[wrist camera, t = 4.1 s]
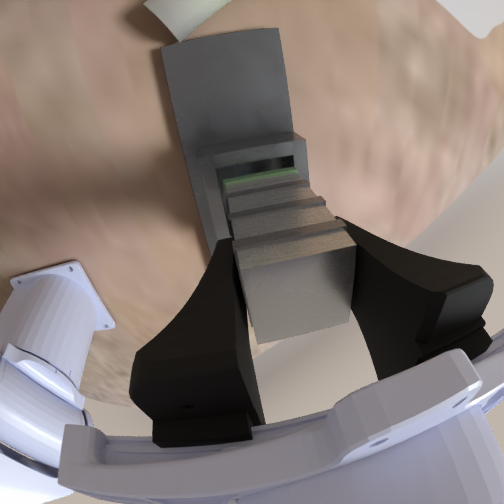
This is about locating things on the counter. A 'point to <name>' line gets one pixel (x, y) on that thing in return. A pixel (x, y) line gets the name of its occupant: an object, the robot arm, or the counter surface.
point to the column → (289, 255)
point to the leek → (184, 14)
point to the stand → (231, 115)
